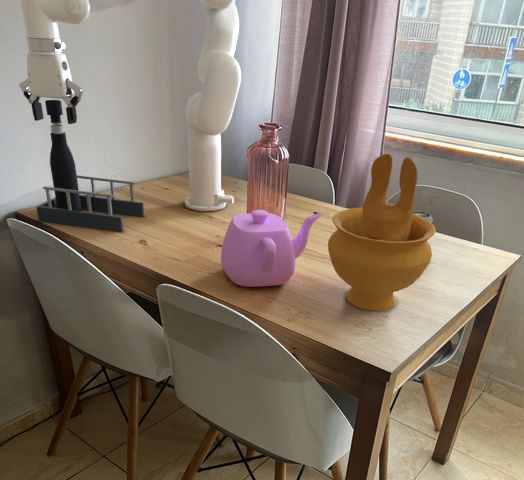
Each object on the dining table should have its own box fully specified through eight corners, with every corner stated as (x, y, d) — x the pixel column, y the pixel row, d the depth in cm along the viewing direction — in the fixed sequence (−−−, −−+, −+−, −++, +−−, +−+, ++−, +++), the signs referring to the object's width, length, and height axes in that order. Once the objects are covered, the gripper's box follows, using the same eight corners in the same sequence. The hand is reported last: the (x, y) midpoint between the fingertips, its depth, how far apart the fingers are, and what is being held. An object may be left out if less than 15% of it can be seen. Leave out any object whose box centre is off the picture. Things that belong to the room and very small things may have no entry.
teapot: (231, 302, 114) (232, 233, 106) (215, 262, 132) (215, 200, 124) (334, 295, 119) (342, 229, 111) (306, 257, 137) (311, 197, 128)
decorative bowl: (304, 302, 116) (318, 156, 100) (348, 270, 131) (366, 139, 115) (398, 334, 106) (429, 177, 90) (434, 295, 121) (466, 155, 105)
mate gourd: (403, 236, 152) (414, 182, 144) (432, 241, 150) (444, 186, 142) (400, 246, 146) (410, 189, 138) (430, 250, 144) (442, 194, 136)
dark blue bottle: (78, 219, 153) (61, 103, 137) (55, 218, 153) (35, 102, 137) (84, 212, 158) (69, 99, 142) (62, 211, 158) (44, 98, 142)
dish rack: (144, 216, 158) (141, 182, 153) (121, 232, 146) (118, 196, 141) (66, 205, 162) (61, 173, 157) (38, 220, 151) (32, 185, 146)
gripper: (84, 48, 135) (93, 122, 144) (22, 43, 138) (34, 116, 147) (68, 49, 128) (78, 127, 138) (3, 45, 132) (17, 120, 141)
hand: (55, 121), depth 142 cm, fingers open, 9 cm apart
